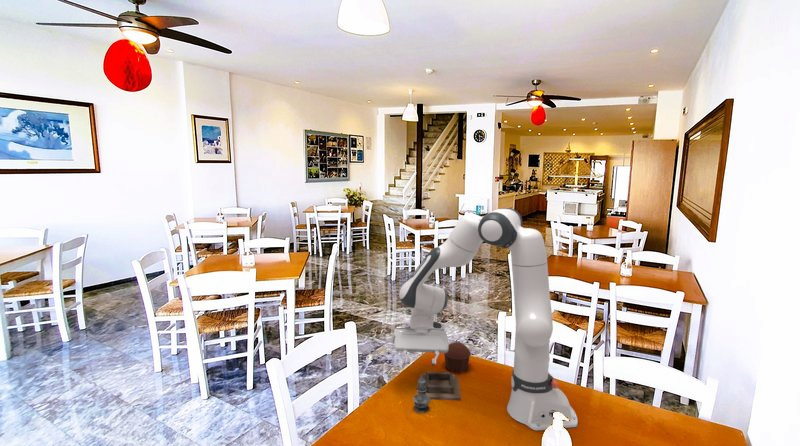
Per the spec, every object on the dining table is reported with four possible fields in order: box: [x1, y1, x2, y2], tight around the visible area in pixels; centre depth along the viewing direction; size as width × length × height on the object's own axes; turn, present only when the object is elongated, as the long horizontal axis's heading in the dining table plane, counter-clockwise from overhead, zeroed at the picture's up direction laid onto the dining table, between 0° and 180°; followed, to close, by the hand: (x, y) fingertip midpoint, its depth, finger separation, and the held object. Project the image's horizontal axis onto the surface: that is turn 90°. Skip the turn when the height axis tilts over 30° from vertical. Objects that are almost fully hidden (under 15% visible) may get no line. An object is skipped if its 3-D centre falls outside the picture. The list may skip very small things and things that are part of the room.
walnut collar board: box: [419, 371, 462, 401], centre depth 148 cm, size 15×15×4 cm
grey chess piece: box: [412, 377, 431, 414], centre depth 135 cm, size 6×6×12 cm
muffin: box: [443, 341, 472, 373], centre depth 163 cm, size 12×11×10 cm
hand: (420, 363), depth 141 cm, fingers open, 8 cm apart
